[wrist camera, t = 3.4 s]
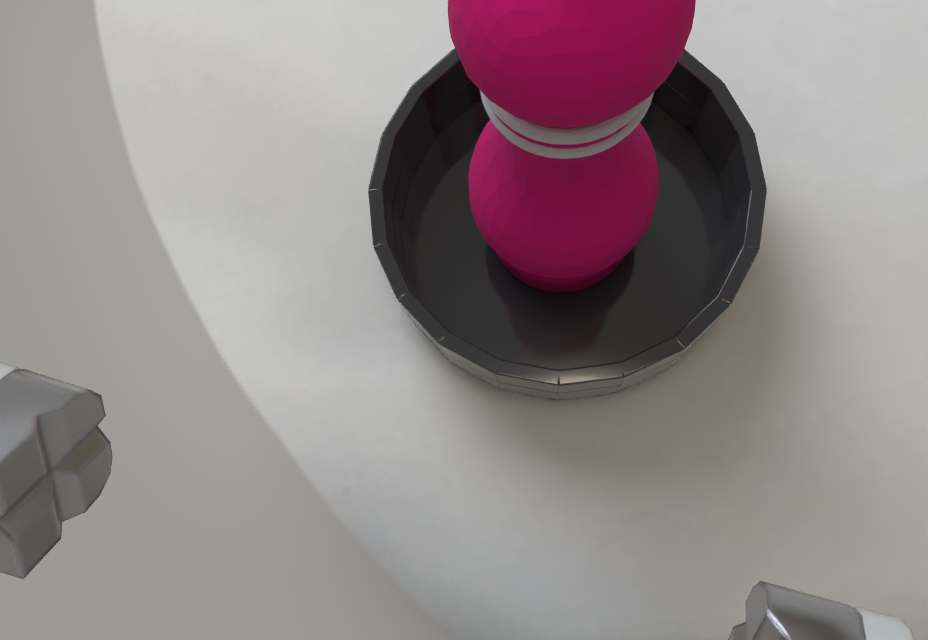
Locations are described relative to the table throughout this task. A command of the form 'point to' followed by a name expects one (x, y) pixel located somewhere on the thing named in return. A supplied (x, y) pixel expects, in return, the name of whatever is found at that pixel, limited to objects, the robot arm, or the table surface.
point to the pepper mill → (566, 128)
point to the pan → (587, 310)
